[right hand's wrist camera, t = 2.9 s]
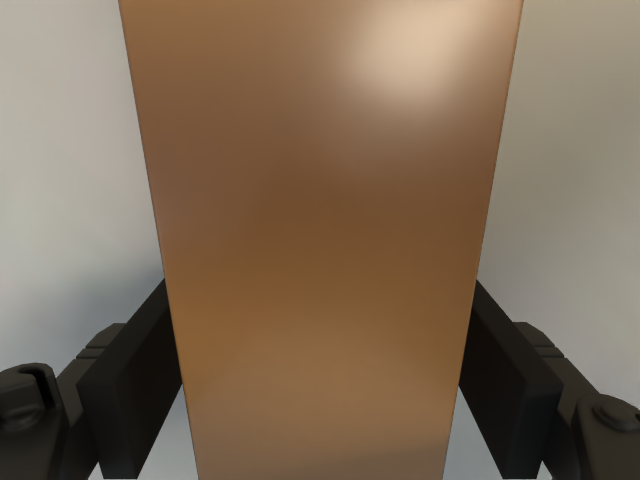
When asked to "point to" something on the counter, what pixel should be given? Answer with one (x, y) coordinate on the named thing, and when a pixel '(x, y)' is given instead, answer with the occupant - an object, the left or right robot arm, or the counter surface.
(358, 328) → the beam
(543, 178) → the counter surface
